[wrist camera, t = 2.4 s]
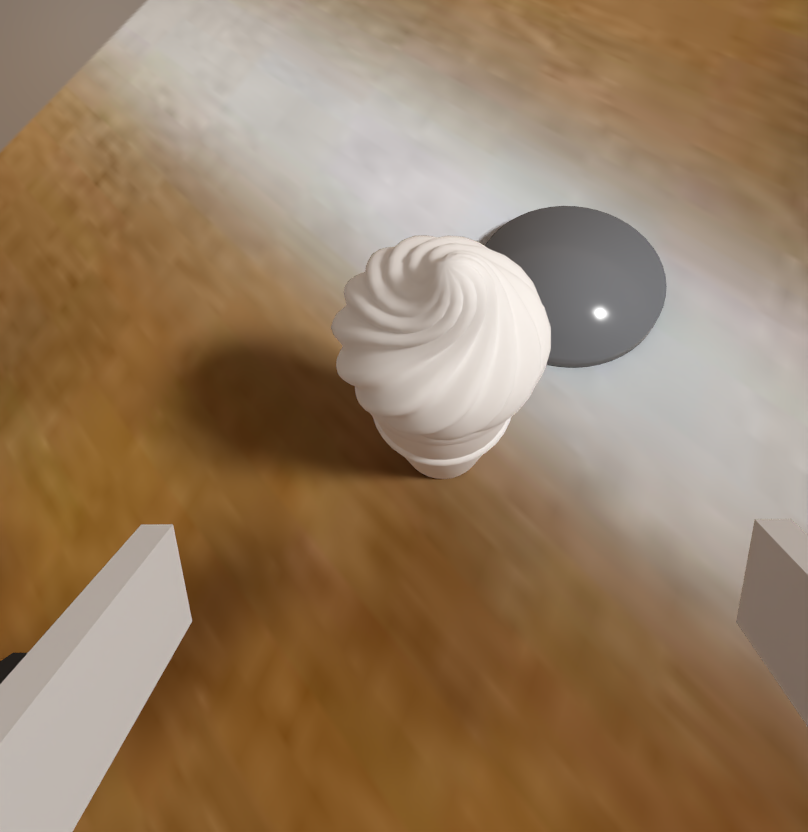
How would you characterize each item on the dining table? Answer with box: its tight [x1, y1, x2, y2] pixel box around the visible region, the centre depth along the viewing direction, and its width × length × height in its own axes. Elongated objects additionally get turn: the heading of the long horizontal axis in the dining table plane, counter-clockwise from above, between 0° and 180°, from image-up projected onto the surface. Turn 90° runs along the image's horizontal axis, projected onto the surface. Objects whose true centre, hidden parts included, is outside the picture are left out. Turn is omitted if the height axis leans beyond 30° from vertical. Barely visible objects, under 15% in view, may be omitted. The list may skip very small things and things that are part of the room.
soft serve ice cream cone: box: [331, 236, 551, 479], centre depth 26 cm, size 8×8×16 cm
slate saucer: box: [486, 206, 666, 368], centre depth 36 cm, size 11×11×1 cm
